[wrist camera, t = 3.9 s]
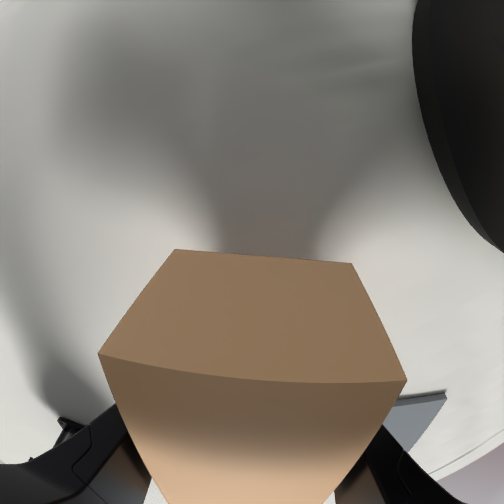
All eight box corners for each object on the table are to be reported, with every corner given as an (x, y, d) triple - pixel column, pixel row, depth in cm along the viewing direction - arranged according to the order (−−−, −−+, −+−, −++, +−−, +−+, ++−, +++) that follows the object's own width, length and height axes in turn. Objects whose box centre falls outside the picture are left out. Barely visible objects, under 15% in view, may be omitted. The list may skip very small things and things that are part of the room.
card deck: (191, 418, 11) (168, 505, 7) (174, 249, 8) (97, 353, 4) (305, 428, 11) (309, 518, 7) (351, 263, 8) (407, 380, 4)
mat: (207, 476, 23) (206, 481, 22) (191, 395, 17) (189, 401, 17) (382, 475, 22) (383, 479, 21) (444, 393, 16) (447, 398, 16)
